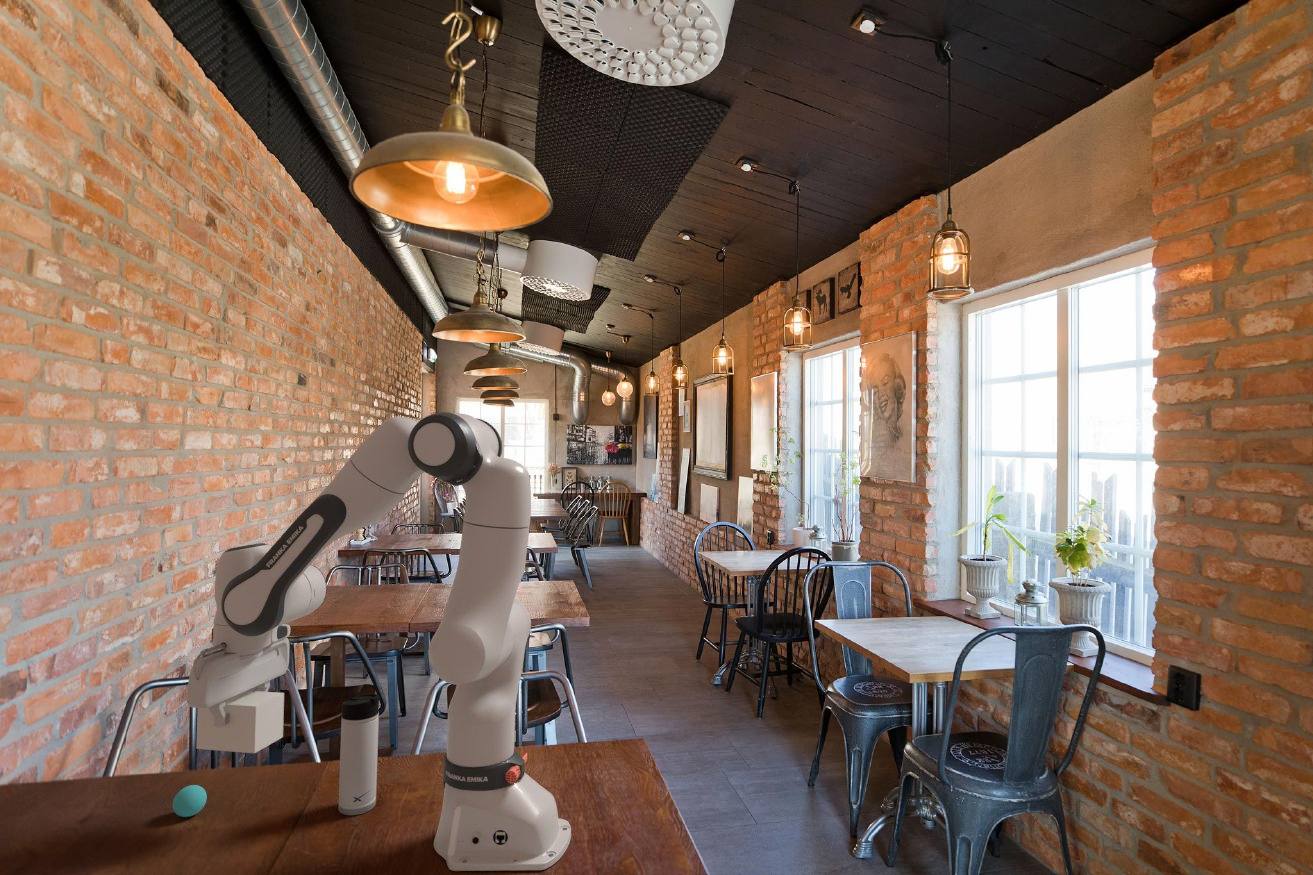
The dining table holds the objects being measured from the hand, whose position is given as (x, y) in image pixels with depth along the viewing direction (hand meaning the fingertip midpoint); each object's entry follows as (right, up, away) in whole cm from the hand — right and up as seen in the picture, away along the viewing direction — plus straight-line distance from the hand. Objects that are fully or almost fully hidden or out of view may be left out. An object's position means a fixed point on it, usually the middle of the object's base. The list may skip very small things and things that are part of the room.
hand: (239, 716), depth 121 cm
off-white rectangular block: (0, -5, 0) cm, 5 cm away
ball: (-9, -15, +1) cm, 18 cm away
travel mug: (+19, -19, +5) cm, 27 cm away
